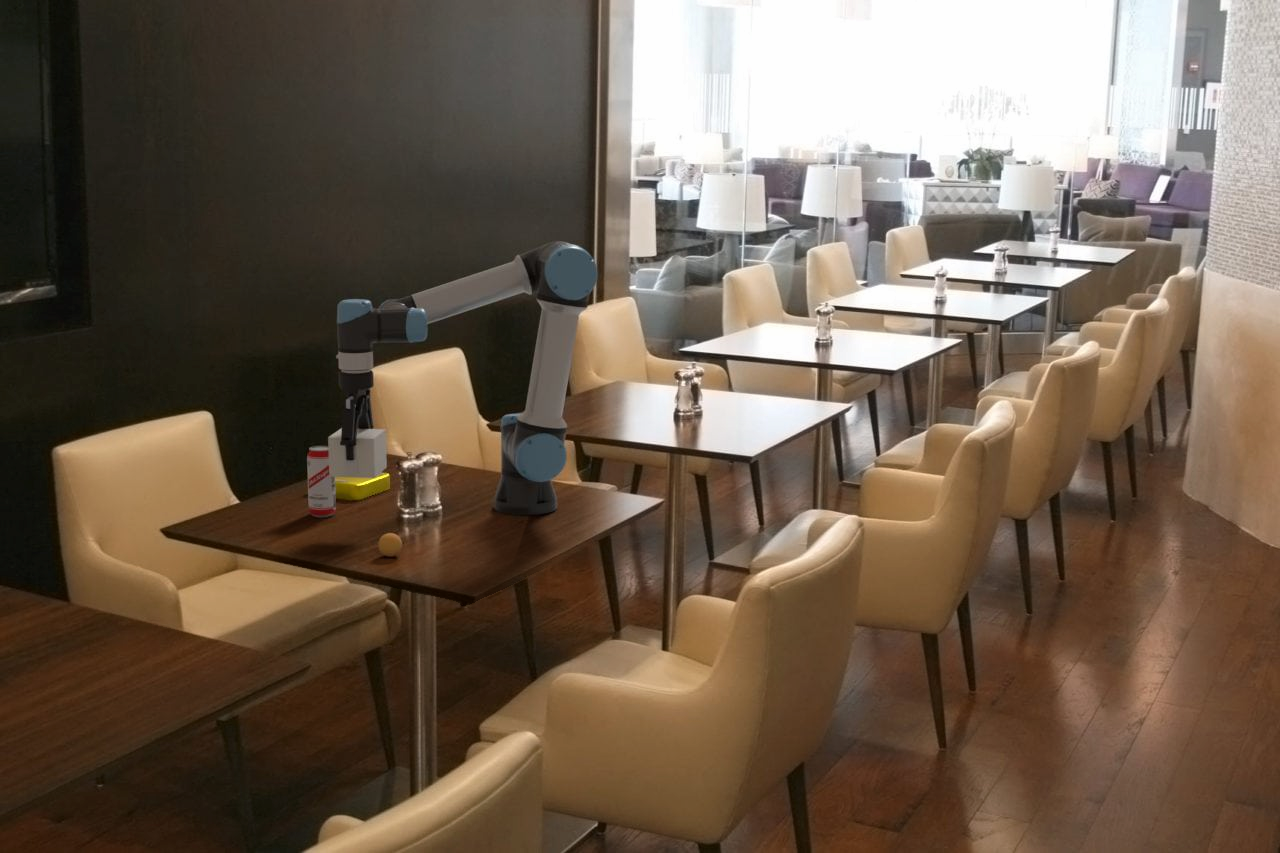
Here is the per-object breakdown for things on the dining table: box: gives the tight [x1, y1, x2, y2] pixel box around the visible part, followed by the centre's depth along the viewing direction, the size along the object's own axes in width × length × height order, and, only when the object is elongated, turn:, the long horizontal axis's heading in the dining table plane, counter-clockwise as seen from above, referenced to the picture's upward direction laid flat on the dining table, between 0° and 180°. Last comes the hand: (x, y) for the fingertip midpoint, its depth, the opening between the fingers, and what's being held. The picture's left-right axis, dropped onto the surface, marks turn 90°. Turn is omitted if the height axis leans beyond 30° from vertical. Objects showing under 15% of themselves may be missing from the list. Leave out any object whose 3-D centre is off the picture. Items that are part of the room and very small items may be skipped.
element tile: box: [335, 471, 391, 501], centre depth 373 cm, size 15×15×5 cm
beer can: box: [306, 445, 337, 518], centre depth 349 cm, size 6×6×16 cm
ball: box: [377, 532, 403, 558], centre depth 318 cm, size 5×5×5 cm
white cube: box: [327, 427, 388, 478], centre depth 333 cm, size 10×10×9 cm
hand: (358, 468), depth 333 cm, fingers closed on white cube, 10 cm apart
